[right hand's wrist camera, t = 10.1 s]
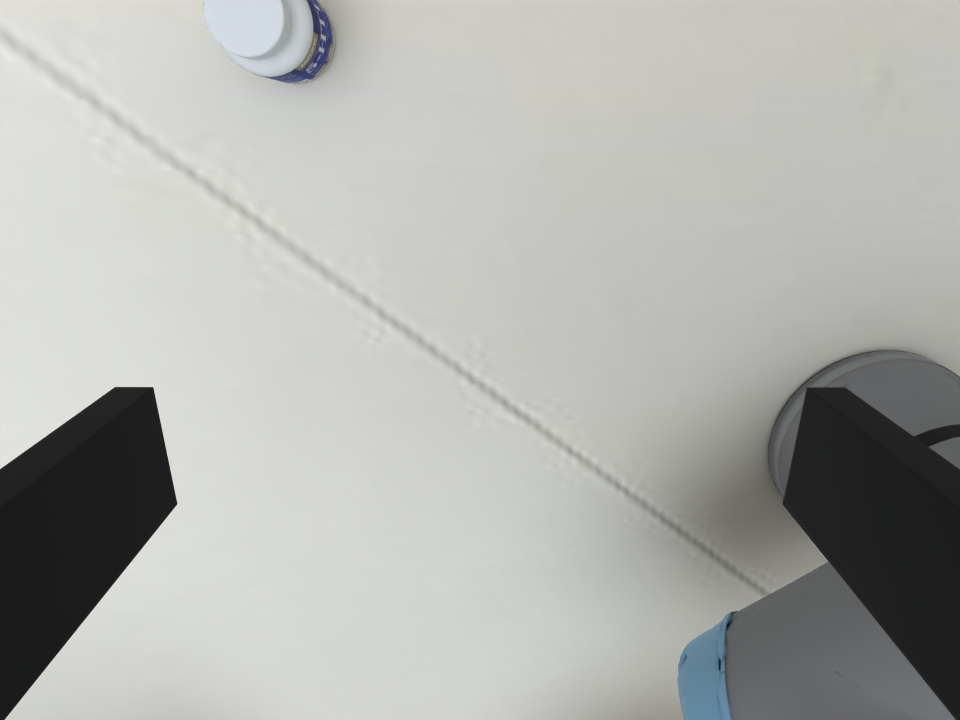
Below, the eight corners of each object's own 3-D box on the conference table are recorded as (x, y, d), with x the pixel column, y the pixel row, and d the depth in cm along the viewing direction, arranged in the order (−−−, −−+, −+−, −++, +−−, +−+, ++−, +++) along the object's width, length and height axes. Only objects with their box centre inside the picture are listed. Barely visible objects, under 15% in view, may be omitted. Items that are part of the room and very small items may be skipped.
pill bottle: (336, 87, 39) (298, 77, 31) (254, 80, 39) (193, 68, 31) (336, -7, 38) (295, -45, 29) (249, -15, 37) (184, -55, 29)
